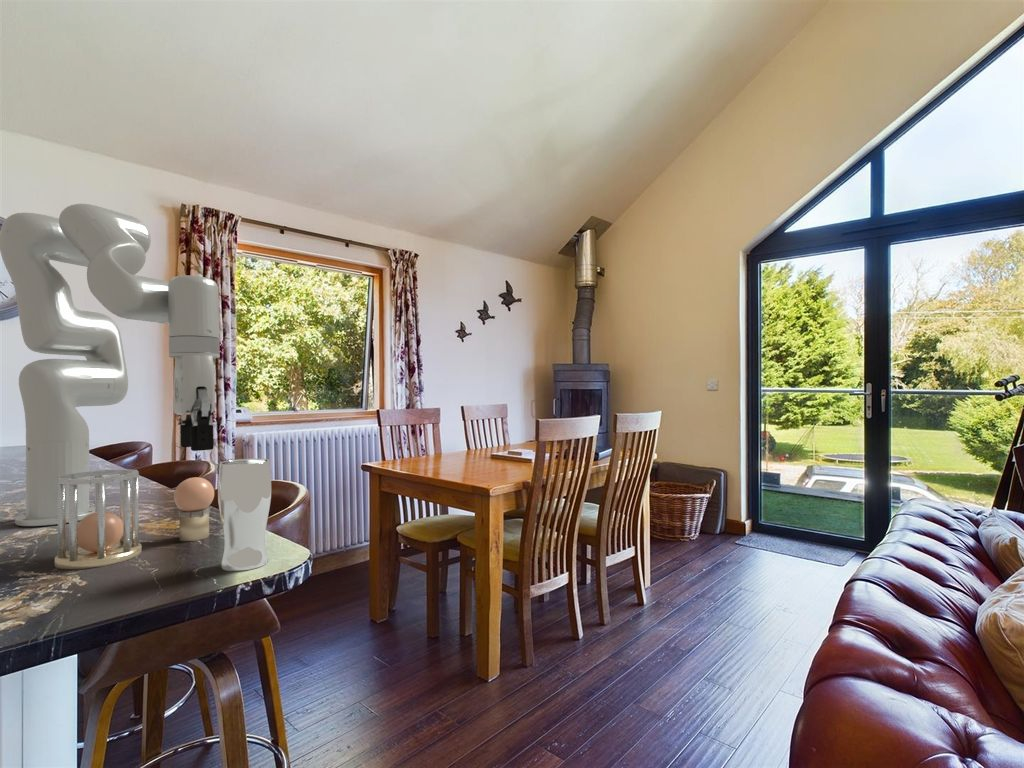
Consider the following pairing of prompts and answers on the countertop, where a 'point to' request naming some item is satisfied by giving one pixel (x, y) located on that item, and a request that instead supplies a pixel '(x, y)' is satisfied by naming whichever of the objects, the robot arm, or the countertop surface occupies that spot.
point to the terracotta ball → (194, 494)
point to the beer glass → (244, 512)
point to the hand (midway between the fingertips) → (196, 448)
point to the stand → (194, 525)
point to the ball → (89, 531)
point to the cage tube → (98, 520)
